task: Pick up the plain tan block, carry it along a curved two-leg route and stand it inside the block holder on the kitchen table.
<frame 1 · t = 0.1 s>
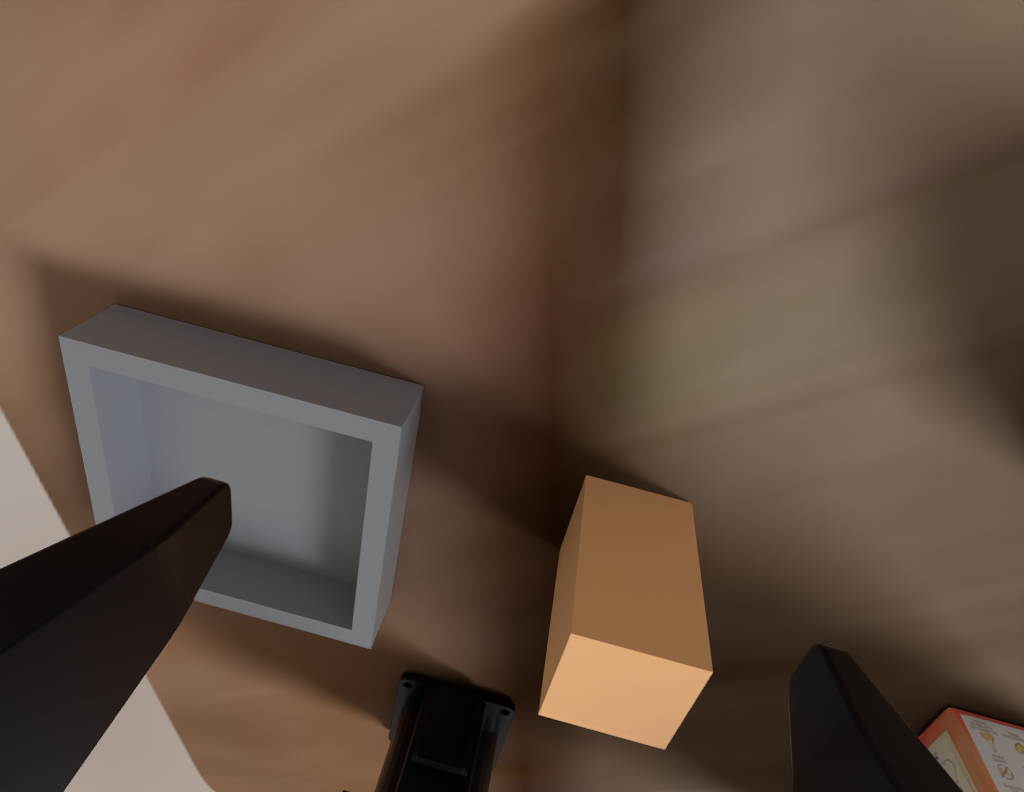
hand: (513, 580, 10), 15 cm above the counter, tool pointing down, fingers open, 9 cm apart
cracker box: (924, 786, 34), on the counter
block holder: (268, 468, 29), on the counter
plain tan block: (622, 527, 28), on the counter
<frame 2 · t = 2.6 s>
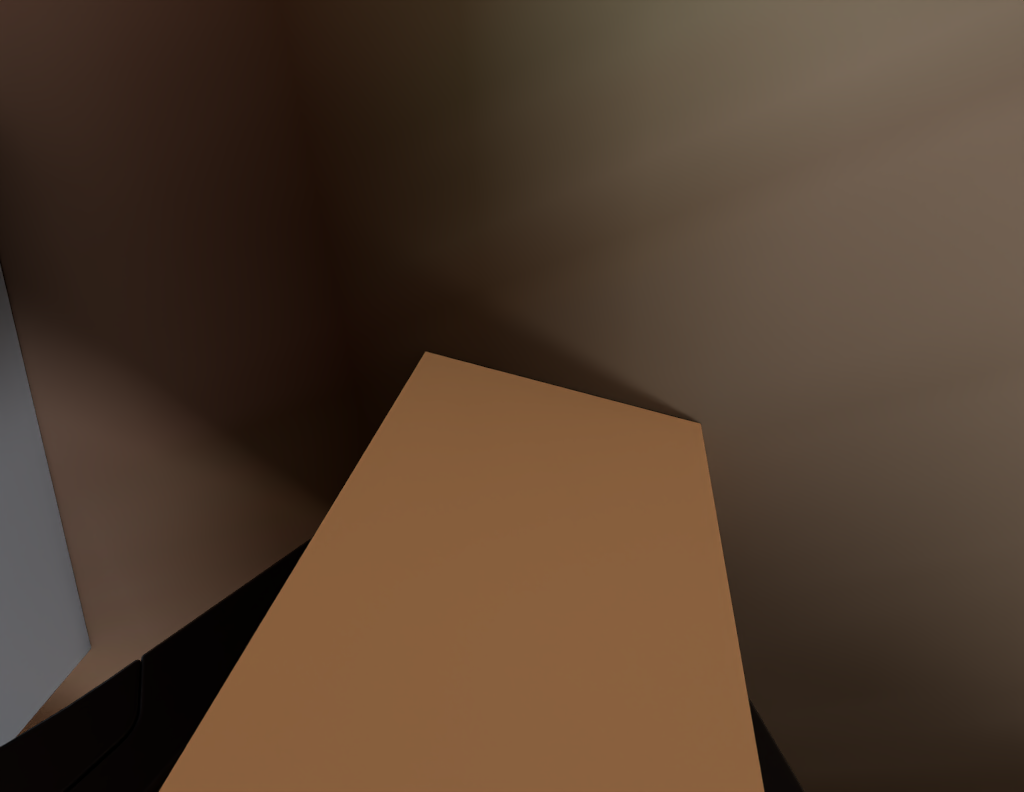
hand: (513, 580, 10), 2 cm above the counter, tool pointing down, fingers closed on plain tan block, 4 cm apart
plain tan block: (531, 493, 11), on the counter, touching gripper
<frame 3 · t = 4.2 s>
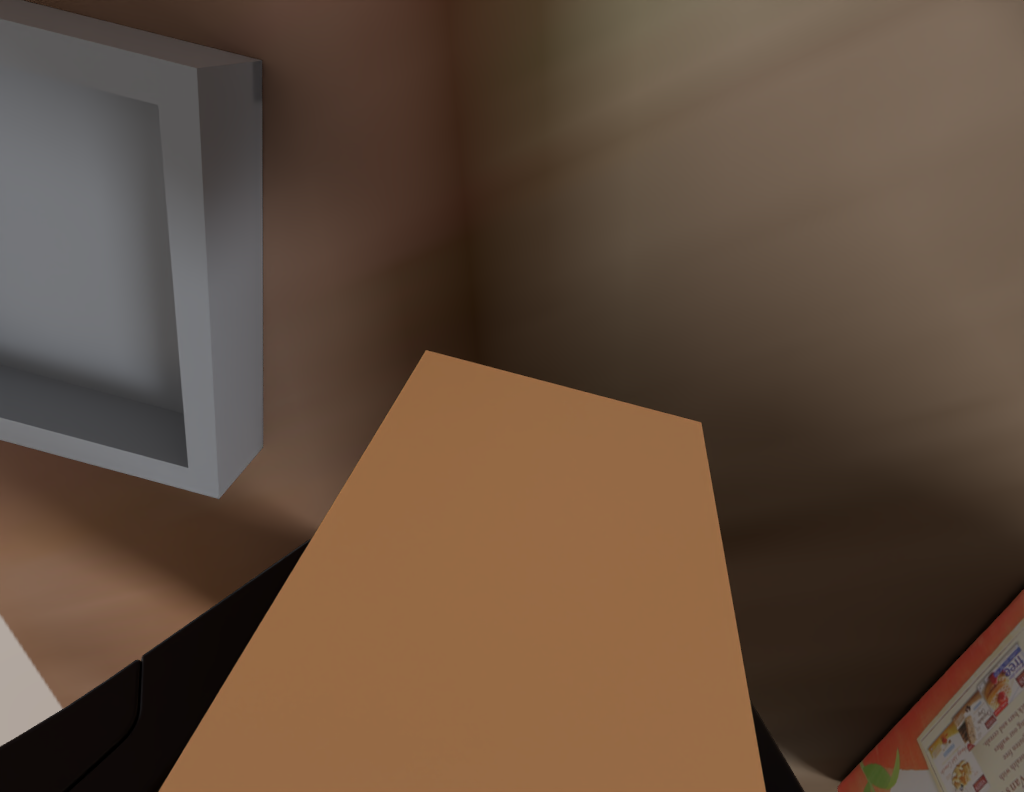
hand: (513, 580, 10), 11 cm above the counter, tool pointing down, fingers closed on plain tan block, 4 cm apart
cracker box: (989, 706, 25), on the counter
block holder: (68, 235, 20), on the counter
plain tan block: (531, 491, 11), point 9 cm above the counter, touching gripper
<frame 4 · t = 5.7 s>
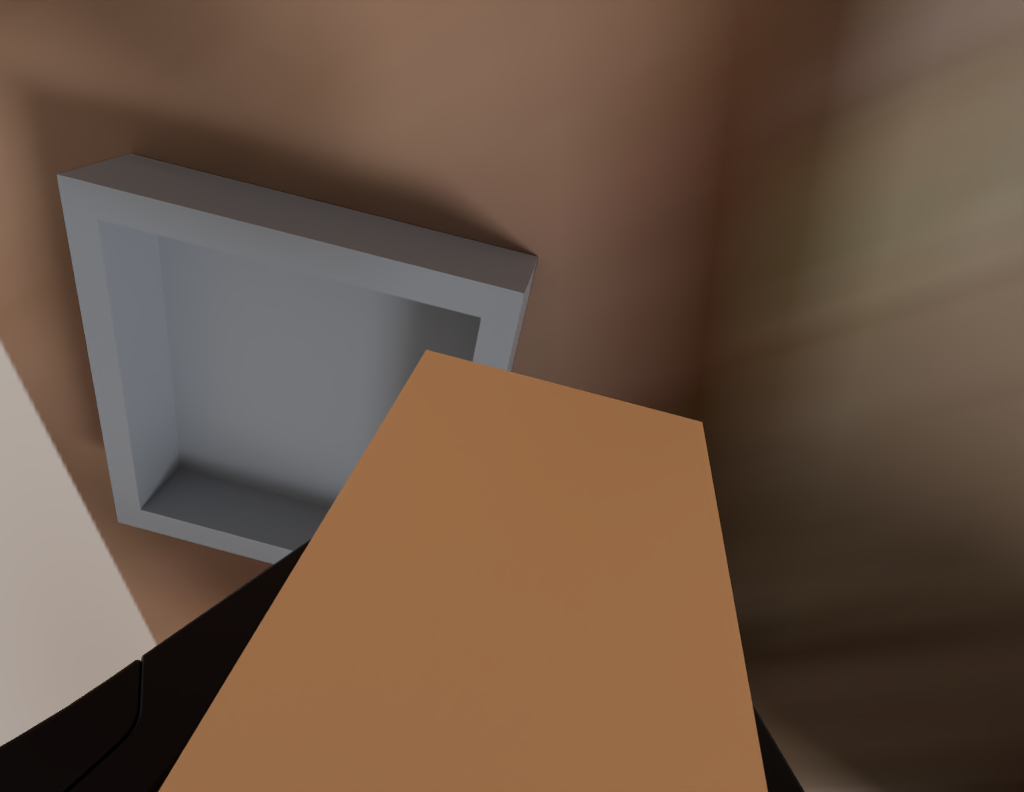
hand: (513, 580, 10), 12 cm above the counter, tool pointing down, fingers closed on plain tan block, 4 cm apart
block holder: (323, 382, 23), on the counter
plain tan block: (532, 491, 11), point 10 cm above the counter, touching gripper
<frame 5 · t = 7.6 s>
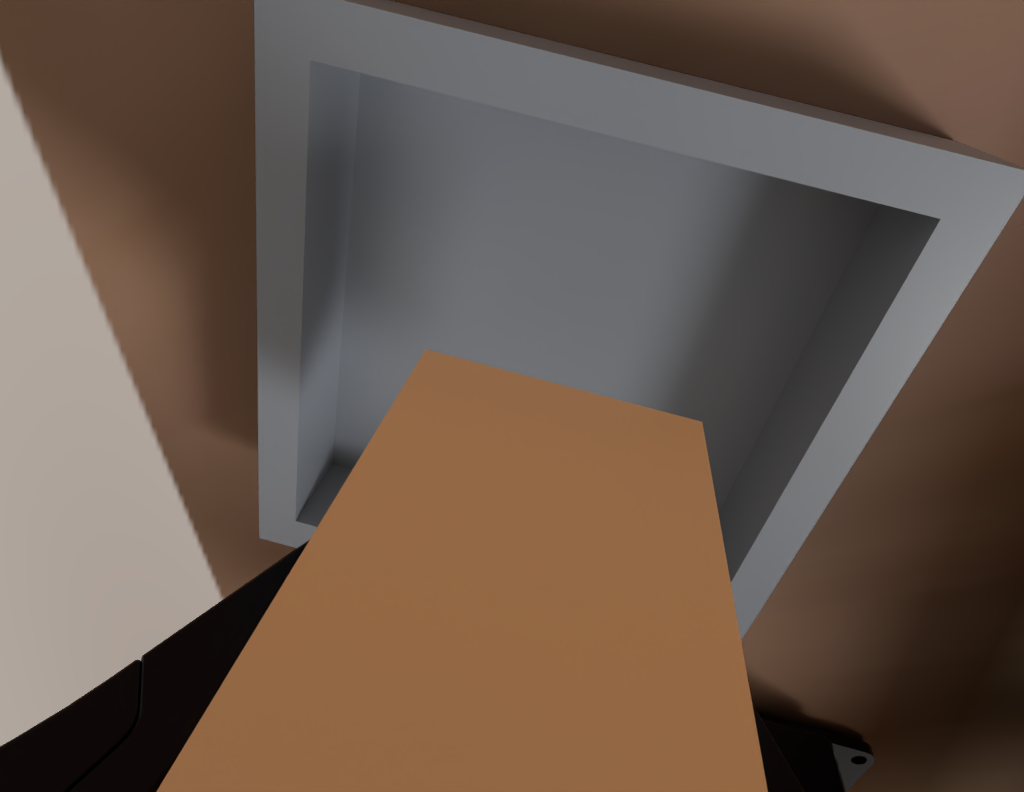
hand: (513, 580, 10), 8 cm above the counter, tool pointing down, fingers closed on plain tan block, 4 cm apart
block holder: (559, 342, 16), on the counter
plain tan block: (531, 491, 11), point 6 cm above the counter, touching gripper
when the fingers open (4 cm above the counter, at t = 9.0 s): plain tan block drops 1 cm, resting on block holder.
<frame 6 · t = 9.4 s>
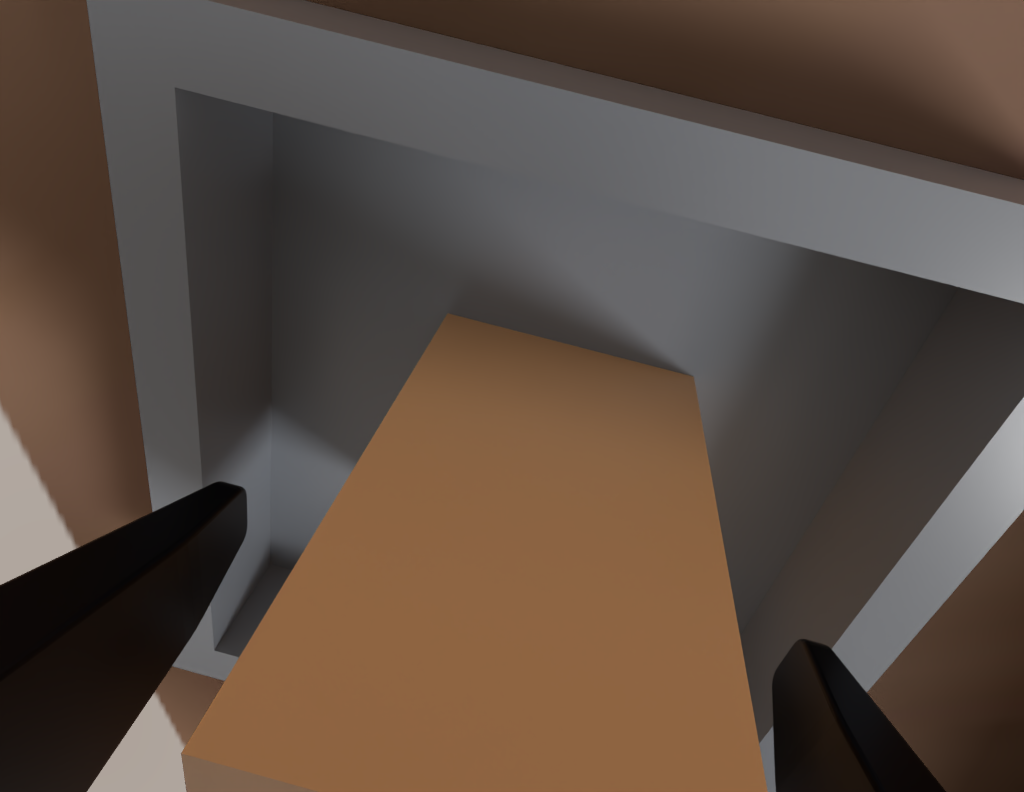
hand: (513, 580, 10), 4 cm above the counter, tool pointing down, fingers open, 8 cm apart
block holder: (542, 431, 13), on the counter
plain tan block: (541, 444, 13), resting on block holder
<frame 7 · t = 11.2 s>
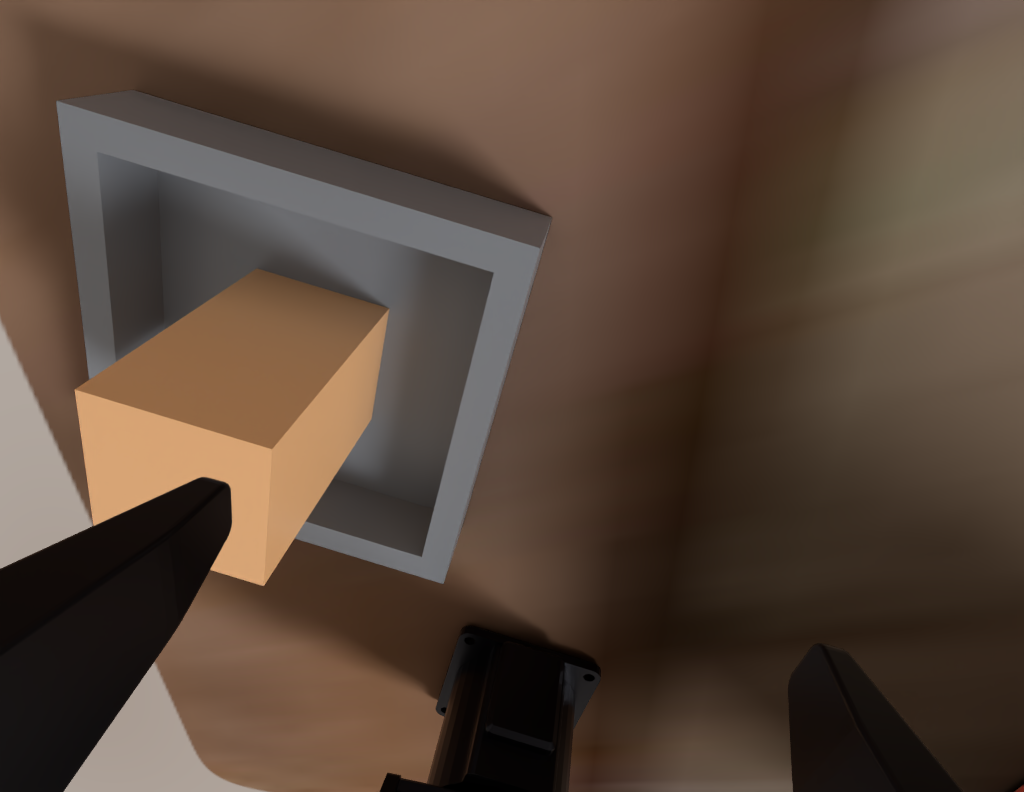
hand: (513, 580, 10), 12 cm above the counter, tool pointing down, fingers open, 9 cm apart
block holder: (322, 342, 22), on the counter
plain tan block: (317, 347, 22), resting on block holder
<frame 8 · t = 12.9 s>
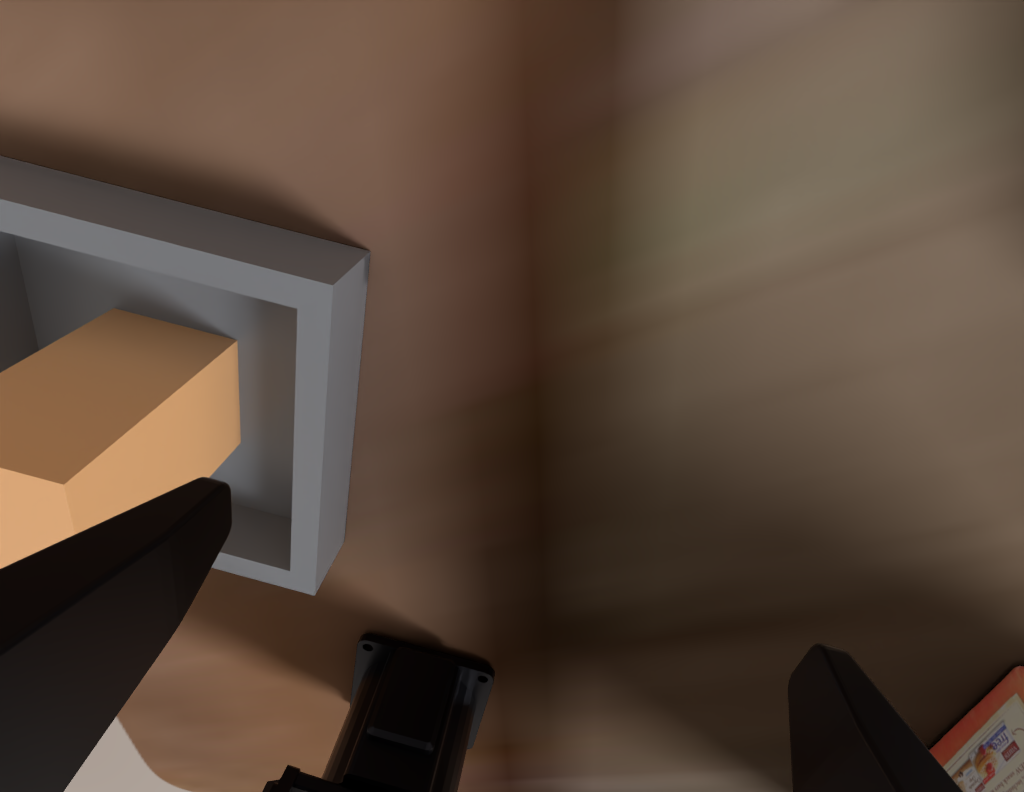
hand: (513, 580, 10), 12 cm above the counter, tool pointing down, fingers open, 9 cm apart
cracker box: (980, 766, 28), on the counter
block holder: (187, 372, 24), on the counter
plain tan block: (180, 378, 23), resting on block holder
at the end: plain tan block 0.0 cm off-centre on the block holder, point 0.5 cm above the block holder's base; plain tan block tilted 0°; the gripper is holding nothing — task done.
